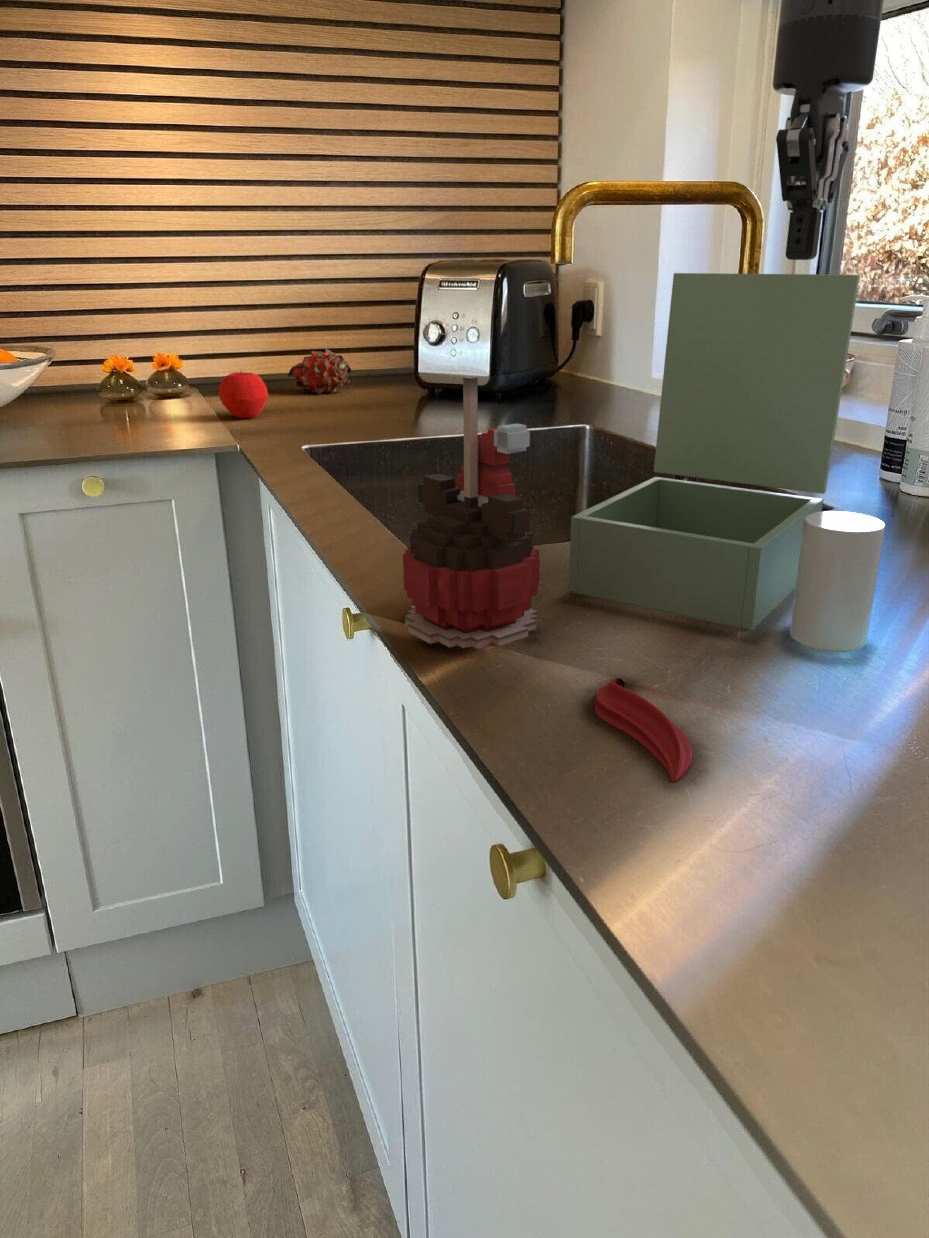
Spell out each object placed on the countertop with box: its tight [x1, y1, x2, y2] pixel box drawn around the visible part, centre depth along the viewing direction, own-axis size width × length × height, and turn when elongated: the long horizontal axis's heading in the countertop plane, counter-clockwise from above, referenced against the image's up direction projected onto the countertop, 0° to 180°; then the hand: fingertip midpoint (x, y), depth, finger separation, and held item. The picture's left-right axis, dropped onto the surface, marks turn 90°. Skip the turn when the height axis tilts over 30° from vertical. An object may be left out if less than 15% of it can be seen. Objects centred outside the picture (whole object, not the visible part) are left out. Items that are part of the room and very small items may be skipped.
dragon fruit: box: [287, 348, 352, 395], centre depth 177 cm, size 8×8×12 cm
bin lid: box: [653, 272, 861, 495], centre depth 78 cm, size 16×15×5 cm
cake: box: [402, 375, 540, 650], centre depth 65 cm, size 11×9×18 cm
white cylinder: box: [789, 510, 887, 652], centre depth 63 cm, size 5×5×9 cm
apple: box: [218, 370, 269, 419], centre depth 152 cm, size 8×8×7 cm
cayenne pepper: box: [594, 677, 693, 783], centre depth 54 cm, size 12×5×2 cm, turn 179°
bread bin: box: [568, 476, 824, 631], centre depth 75 cm, size 16×15×7 cm
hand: (800, 259), depth 79 cm, fingers closed
